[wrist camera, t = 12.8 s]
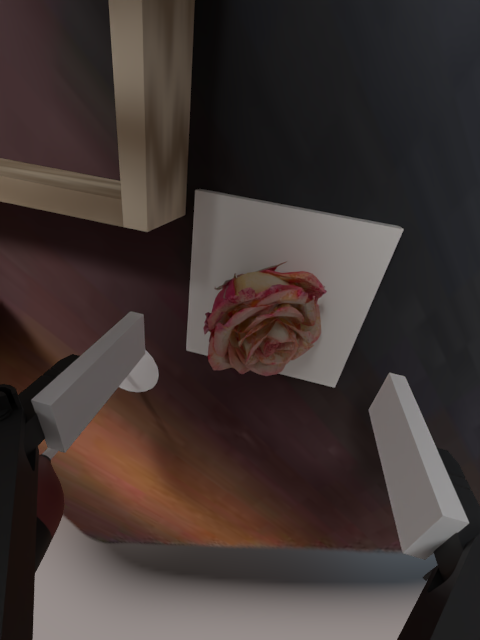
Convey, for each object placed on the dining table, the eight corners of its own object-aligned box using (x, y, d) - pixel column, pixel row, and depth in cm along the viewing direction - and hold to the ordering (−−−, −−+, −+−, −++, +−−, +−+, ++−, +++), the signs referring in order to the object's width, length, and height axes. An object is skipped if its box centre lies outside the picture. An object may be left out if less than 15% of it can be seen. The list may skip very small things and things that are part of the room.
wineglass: (112, 318, 28) (-189, 564, 11) (177, 375, 30) (6, 659, 13) (78, 356, 32) (-187, 584, 15) (137, 405, 34) (-36, 655, 17)
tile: (200, 188, 20) (195, 189, 20) (399, 226, 19) (403, 229, 18) (189, 344, 28) (185, 350, 27) (333, 380, 26) (334, 387, 25)
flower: (179, 313, 23) (199, 397, 19) (203, 216, 17) (240, 307, 13) (275, 312, 27) (309, 381, 22) (321, 233, 21) (380, 307, 17)
